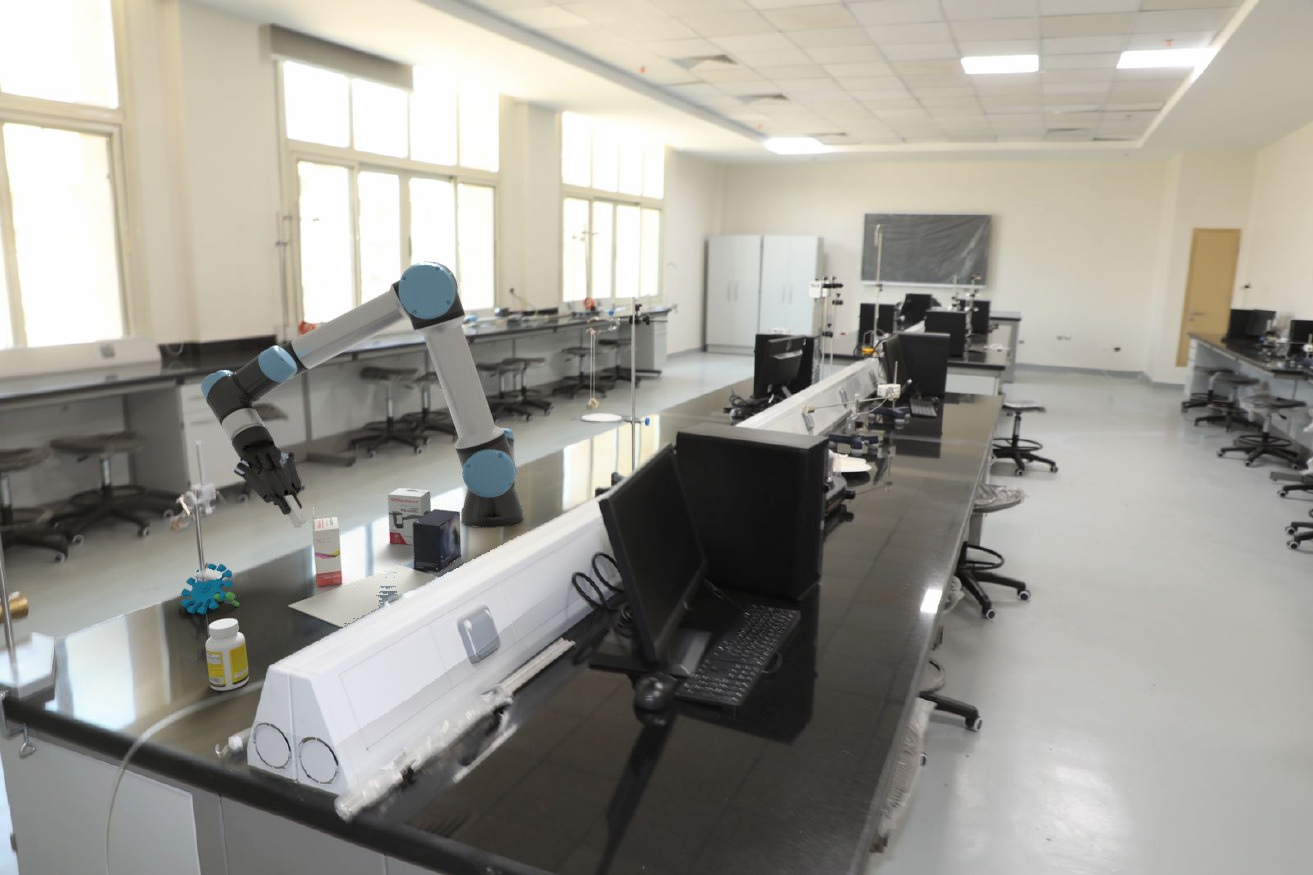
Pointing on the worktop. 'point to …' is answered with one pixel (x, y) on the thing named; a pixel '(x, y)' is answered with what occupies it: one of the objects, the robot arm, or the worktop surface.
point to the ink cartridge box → (327, 551)
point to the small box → (436, 540)
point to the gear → (208, 592)
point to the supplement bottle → (226, 655)
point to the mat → (360, 595)
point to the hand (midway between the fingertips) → (301, 524)
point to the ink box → (406, 512)
